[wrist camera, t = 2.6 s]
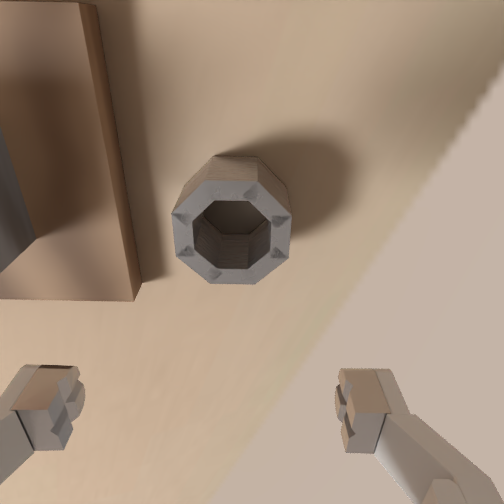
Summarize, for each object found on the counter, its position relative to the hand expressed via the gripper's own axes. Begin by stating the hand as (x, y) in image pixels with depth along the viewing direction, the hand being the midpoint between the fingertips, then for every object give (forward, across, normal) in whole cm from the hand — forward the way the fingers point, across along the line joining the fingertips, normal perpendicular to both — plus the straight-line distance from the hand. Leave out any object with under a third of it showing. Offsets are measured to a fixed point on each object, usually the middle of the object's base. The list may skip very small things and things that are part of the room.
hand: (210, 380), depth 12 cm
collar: (+13, 0, 0) cm, 13 cm away
